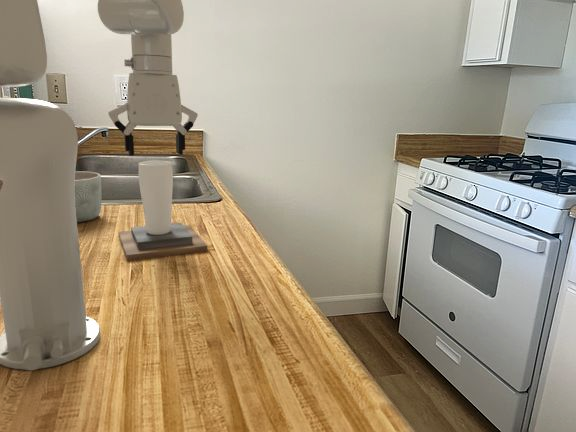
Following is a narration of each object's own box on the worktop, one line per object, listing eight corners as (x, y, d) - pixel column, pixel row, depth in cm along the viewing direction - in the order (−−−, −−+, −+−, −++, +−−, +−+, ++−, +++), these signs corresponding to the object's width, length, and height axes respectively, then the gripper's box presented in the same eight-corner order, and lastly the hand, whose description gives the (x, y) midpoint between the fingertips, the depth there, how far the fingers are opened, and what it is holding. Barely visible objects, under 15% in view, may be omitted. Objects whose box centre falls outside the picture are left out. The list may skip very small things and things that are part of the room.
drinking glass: (135, 233, 101) (130, 163, 97) (157, 225, 107) (154, 159, 103) (159, 239, 98) (156, 166, 94) (181, 230, 104) (179, 162, 100)
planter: (45, 216, 122) (40, 174, 119) (95, 209, 129) (92, 169, 126) (57, 228, 112) (52, 182, 109) (110, 220, 120) (107, 177, 117)
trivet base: (207, 251, 100) (207, 238, 99) (127, 260, 93) (126, 247, 93) (189, 229, 114) (189, 218, 113) (118, 236, 107) (117, 225, 107)
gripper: (107, 63, 87) (112, 157, 91) (200, 68, 94) (202, 155, 98) (104, 65, 93) (109, 153, 98) (191, 69, 100) (193, 151, 105)
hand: (155, 154), depth 98 cm, fingers open, 9 cm apart
